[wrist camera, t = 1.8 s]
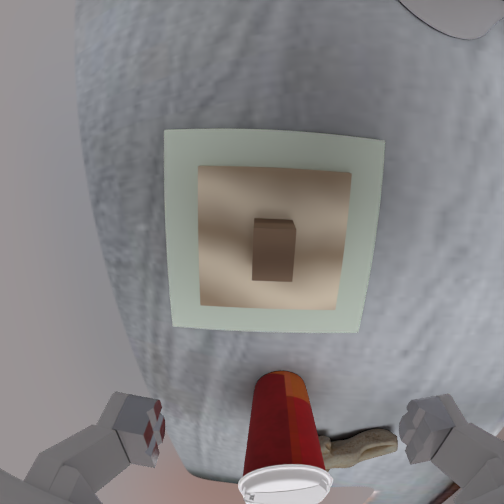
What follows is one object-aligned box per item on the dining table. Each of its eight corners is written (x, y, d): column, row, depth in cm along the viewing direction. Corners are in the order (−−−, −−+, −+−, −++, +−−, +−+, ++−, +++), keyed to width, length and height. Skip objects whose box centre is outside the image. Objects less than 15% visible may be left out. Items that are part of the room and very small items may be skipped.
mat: (166, 130, 24) (164, 129, 24) (383, 140, 24) (385, 140, 23) (174, 323, 30) (172, 326, 30) (356, 329, 30) (358, 332, 29)
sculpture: (394, 408, 35) (282, 433, 35) (407, 434, 31) (287, 464, 31) (385, 436, 38) (286, 459, 38) (396, 460, 33) (290, 486, 33)
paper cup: (242, 409, 34) (234, 512, 21) (247, 360, 31) (240, 476, 18) (308, 412, 34) (321, 513, 21) (322, 364, 31) (347, 475, 18)
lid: (199, 165, 25) (189, 169, 21) (349, 172, 24) (363, 177, 21) (201, 301, 29) (194, 323, 25) (333, 305, 28) (342, 327, 25)
